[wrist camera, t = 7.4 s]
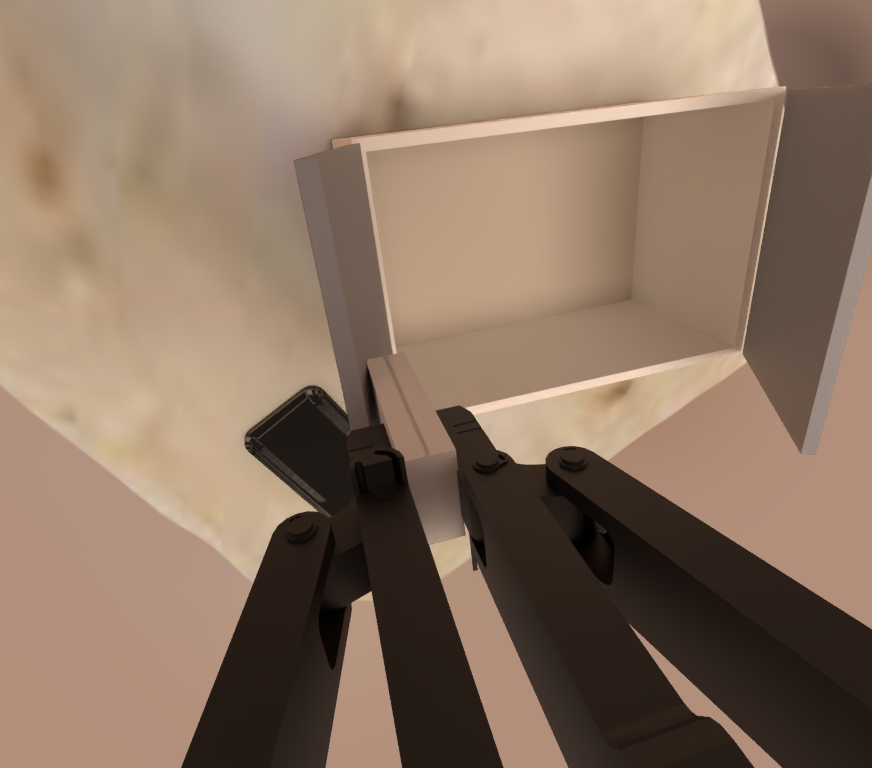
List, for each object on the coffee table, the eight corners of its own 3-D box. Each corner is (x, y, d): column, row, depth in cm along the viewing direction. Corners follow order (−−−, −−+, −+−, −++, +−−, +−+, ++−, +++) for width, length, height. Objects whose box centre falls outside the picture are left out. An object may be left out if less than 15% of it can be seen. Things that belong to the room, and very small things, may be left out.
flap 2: (894, 82, 18) (916, 80, 18) (788, 90, 28) (801, 88, 28) (800, 454, 25) (815, 454, 25) (742, 353, 35) (752, 353, 35)
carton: (331, 139, 35) (350, 139, 24) (648, 101, 39) (786, 86, 28) (370, 356, 42) (398, 431, 31) (634, 304, 46) (740, 353, 35)
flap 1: (359, 143, 23) (346, 144, 23) (317, 157, 13) (293, 160, 13) (405, 434, 30) (395, 435, 30) (402, 598, 20) (386, 600, 20)
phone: (314, 384, 41) (421, 494, 48) (313, 378, 42) (419, 487, 49) (237, 443, 41) (354, 544, 49) (238, 436, 42) (353, 536, 50)
